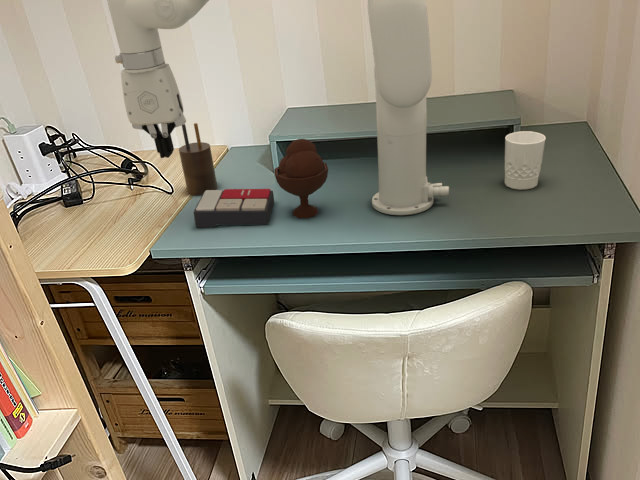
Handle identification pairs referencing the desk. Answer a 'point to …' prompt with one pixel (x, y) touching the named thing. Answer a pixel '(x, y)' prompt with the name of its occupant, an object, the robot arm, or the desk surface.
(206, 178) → the pencil cup
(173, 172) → the desk surface
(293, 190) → the ice cream bowl
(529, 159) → the white cup
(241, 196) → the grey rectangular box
